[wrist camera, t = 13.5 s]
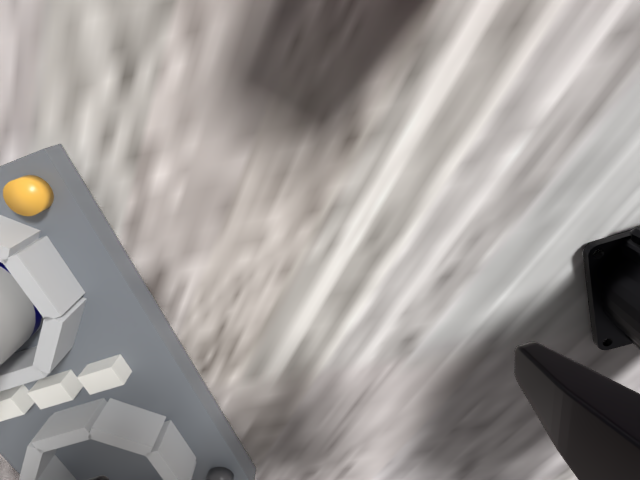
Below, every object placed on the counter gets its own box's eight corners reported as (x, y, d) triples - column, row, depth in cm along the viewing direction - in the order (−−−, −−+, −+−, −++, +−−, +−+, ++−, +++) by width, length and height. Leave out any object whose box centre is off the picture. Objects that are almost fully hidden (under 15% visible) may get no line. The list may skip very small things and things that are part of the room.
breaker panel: (255, 468, 26) (247, 519, 23) (82, 512, 28) (54, 564, 25) (60, 143, 18) (10, 159, 15) (-167, 234, 20) (-251, 263, 17)
